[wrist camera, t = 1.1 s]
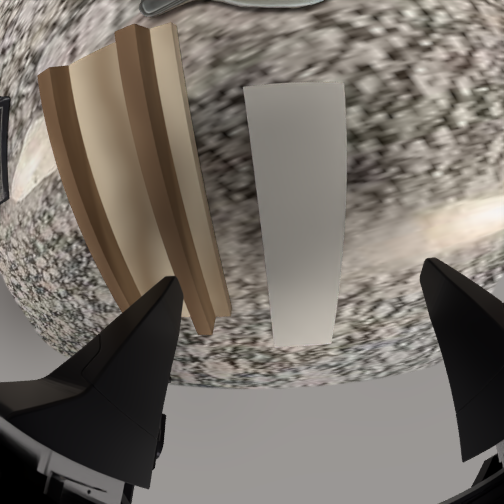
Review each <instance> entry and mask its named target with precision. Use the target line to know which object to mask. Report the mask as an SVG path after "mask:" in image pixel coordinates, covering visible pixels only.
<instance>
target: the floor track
mask: <svg viewBox="0 0 504 504" xmlns="http://www.w3.org/2000/svg"><path fill="white" fill-rule="evenodd" d="M115 40H116V42H115V43H112V44H110V45H108V46H106V47H104V48H101V49H99V50H97V51H95V52H93V53H91V54H89V55H87V56H85V57H83V58H82V59H80V60H78V61H76V62H74V63H72V64H71V65H69V66H58V67H49V68H48V69H46V70H45V71H43V72H42V73H40V74H39V75H38V83H39V90H40V96H41V102H42V107H43V112H44V117H45V122H46V126H47V131H48V135H49V139H50V143H51V146H52V150H53V154H54V157H55V161H56V164H57V167H58V170H59V174H60V177H61V180H62V183H63V186H64V189H65V191H66V194H67V197H68V200H69V202H70V205H71V208H72V210H73V213H74V215H75V218H76V220H77V223H78V225H79V228H80V230H81V232H82V235H83V237H84V239H85V242H86V244H87V246H88V248H89V250H90V252H91V255H92V257H93V259H94V261H95V263H96V265H97V267H98V269H99V271H100V273H101V275H102V277H103V279H104V281H105V283H106V285H107V286H108V288H109V290H110V292H111V294H112V296H113V297H114V299H115V301H116V303H117V305H118V306H119V308H120V310H121V311H122V313H123V312H124V311H125V310H126V309H127V308H129V307H130V306H131V305H132V304H133V303H134V302H135V301H137V300H138V299H139V298H140V297H141V296H142V295H144V294H145V293H146V292H147V291H148V290H149V289H151V288H152V287H153V286H154V285H155V284H157V283H158V282H159V281H160V280H161V279H163V278H164V277H165V276H176V277H177V278H178V280H179V283H180V286H181V289H182V291H183V295H184V300H183V307H182V315H181V317H191V319H192V321H193V324H194V326H195V329H196V331H197V333H198V335H212V333H213V328H214V323H215V318H216V317H223V316H231V311H232V306H231V302H230V298H229V294H228V290H227V286H226V281H225V277H224V273H223V269H222V265H221V260H220V256H219V252H218V247H217V243H216V238H215V234H214V229H213V225H212V220H211V216H210V211H209V206H208V202H207V197H206V192H205V187H204V182H203V177H202V172H201V167H200V162H199V157H198V152H197V147H196V142H195V136H194V131H193V125H192V120H191V114H190V109H189V103H188V97H187V91H186V85H185V79H184V73H183V67H182V60H181V54H180V47H179V40H178V33H177V26H176V25H175V24H173V23H171V22H170V23H167V24H164V25H161V26H157V27H154V28H151V29H148V28H145V27H143V26H140V25H137V24H132V25H130V26H127V27H125V28H123V29H120V30H118V31H116V32H115Z"/></svg>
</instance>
